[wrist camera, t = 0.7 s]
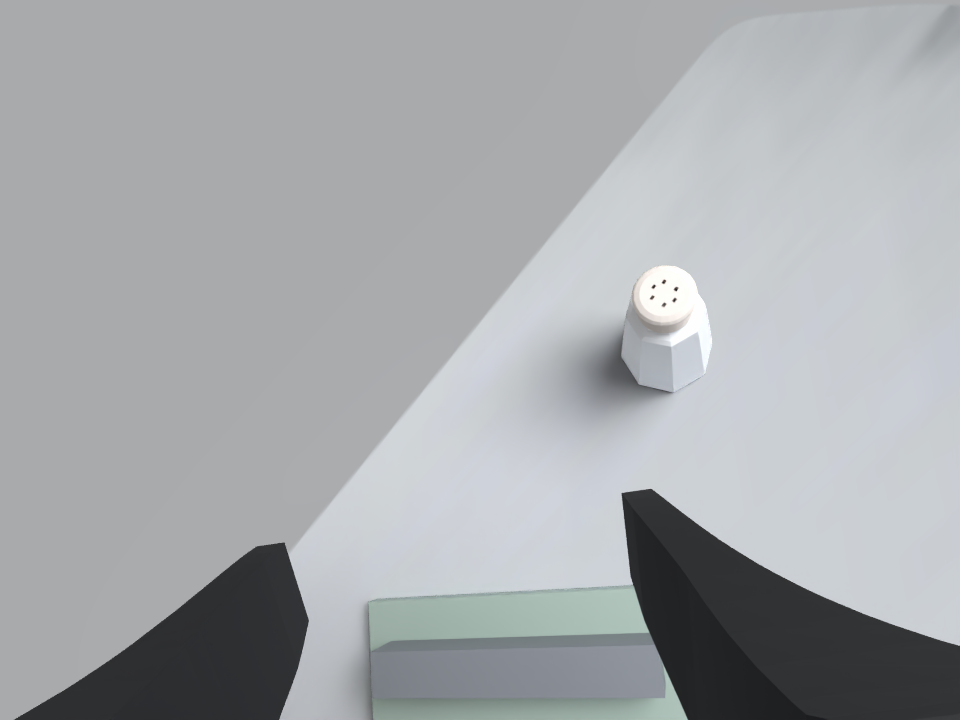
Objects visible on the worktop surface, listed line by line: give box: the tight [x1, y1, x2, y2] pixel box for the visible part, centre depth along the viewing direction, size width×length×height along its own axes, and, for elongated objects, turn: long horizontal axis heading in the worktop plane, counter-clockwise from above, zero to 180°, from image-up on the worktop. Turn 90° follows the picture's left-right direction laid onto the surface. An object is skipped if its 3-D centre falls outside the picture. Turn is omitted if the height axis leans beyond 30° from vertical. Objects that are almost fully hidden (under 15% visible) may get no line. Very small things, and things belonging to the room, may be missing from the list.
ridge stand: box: [368, 585, 688, 720], centre depth 33 cm, size 7×20×4 cm, turn 96°
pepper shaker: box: [621, 265, 712, 392], centre depth 31 cm, size 5×5×11 cm
